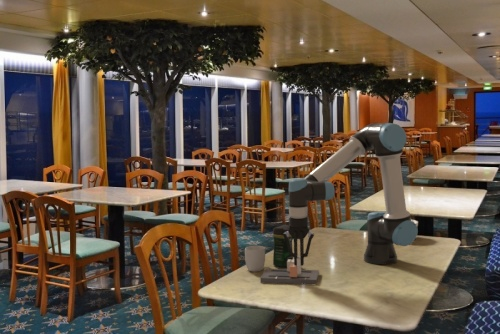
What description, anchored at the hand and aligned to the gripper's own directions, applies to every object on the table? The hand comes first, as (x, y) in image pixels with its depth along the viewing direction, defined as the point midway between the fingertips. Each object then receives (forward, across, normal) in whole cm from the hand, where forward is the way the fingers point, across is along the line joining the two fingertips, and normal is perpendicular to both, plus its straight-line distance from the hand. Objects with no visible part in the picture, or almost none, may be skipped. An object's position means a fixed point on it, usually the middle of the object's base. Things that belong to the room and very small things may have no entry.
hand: (299, 273), depth 227 cm
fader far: (+1, +4, -8) cm, 9 cm away
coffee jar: (+4, +10, -25) cm, 27 cm away
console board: (+4, +4, -4) cm, 7 cm away
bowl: (+4, -47, -84) cm, 96 cm away
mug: (+4, +21, -18) cm, 28 cm away
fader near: (+1, +2, 0) cm, 3 cm away
